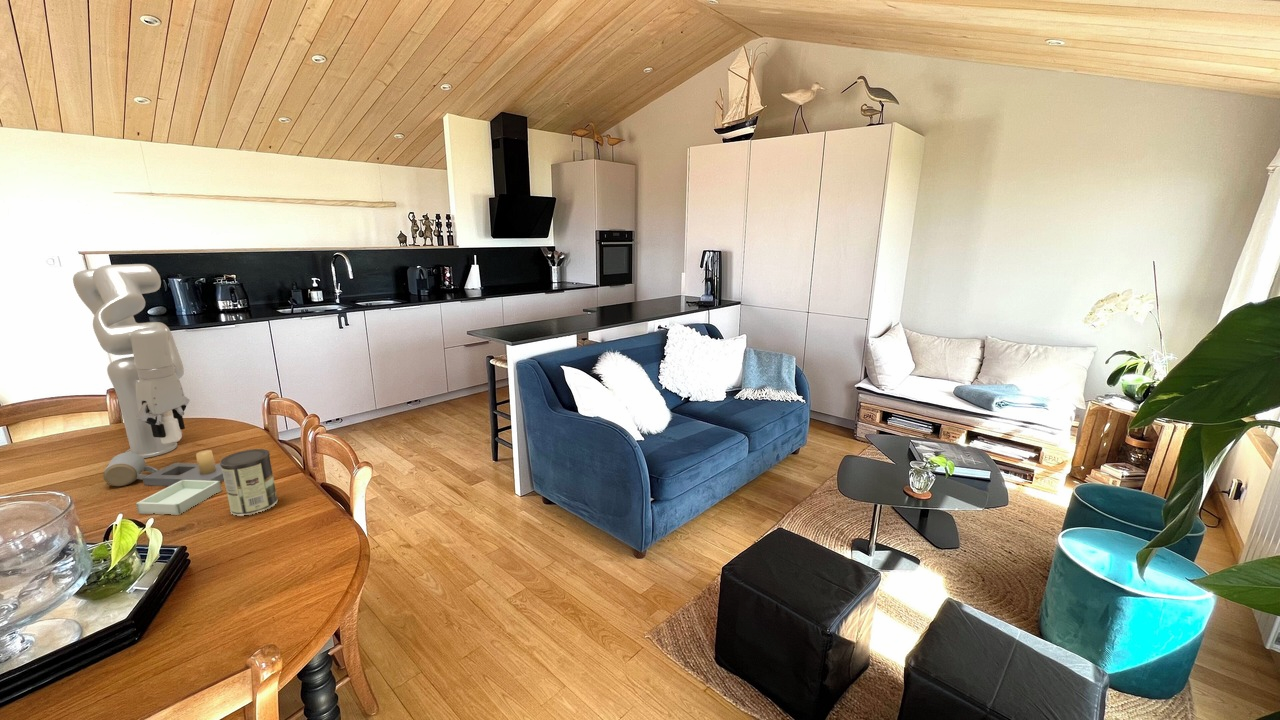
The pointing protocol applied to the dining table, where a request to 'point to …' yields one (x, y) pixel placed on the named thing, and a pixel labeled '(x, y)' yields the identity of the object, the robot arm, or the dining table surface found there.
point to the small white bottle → (170, 428)
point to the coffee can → (249, 481)
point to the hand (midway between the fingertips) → (169, 432)
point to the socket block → (187, 471)
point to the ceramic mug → (126, 469)
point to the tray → (178, 497)
